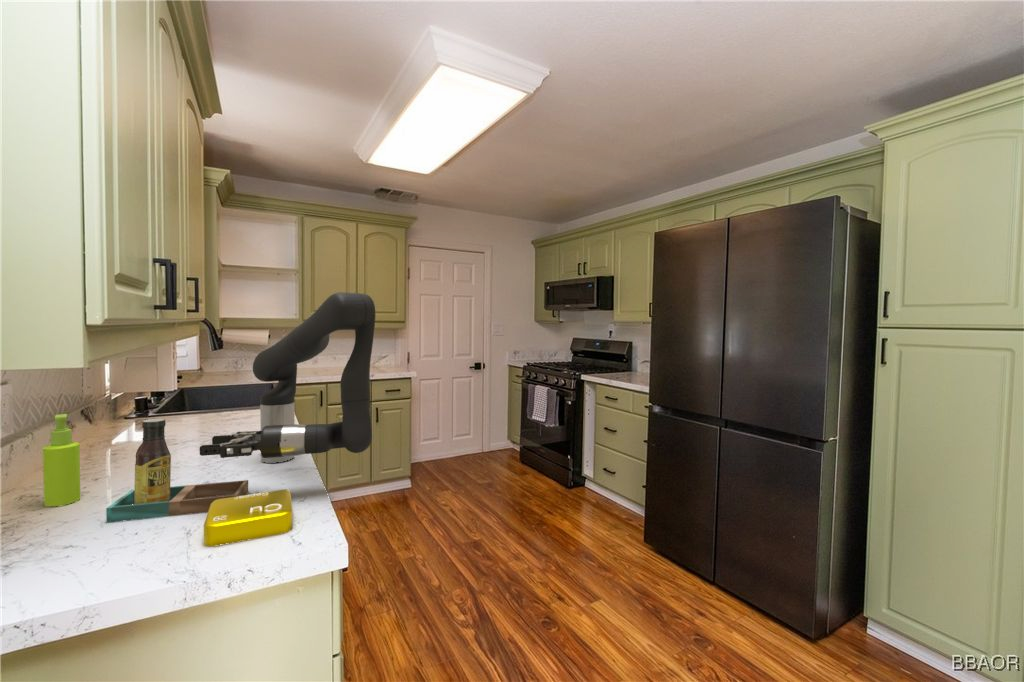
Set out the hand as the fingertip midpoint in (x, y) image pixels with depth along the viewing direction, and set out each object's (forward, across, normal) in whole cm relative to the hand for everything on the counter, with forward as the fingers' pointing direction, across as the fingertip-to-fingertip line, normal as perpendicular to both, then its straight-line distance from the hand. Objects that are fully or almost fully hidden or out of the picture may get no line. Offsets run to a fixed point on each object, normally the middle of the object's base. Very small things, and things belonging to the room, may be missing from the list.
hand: (206, 445), depth 102 cm
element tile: (-12, +15, +14) cm, 24 cm away
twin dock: (+5, 0, +14) cm, 14 cm away
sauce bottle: (+10, 0, +14) cm, 17 cm away
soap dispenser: (+32, -11, +14) cm, 36 cm away
